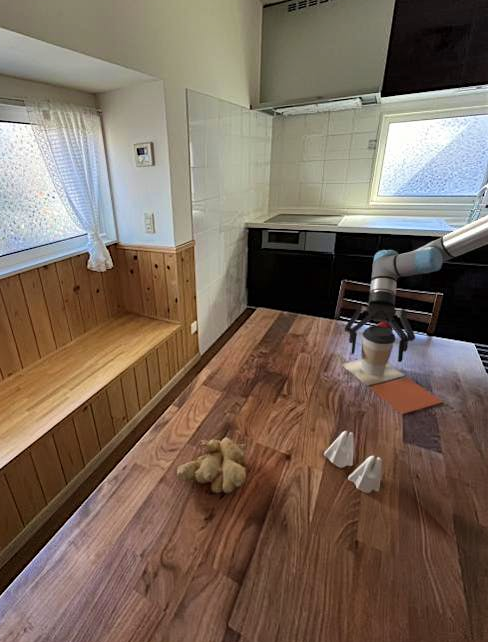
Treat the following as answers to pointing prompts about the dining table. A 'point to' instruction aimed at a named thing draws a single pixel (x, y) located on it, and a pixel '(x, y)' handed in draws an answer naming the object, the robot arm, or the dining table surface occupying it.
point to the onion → (385, 325)
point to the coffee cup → (376, 349)
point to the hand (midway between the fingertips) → (375, 357)
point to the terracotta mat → (406, 395)
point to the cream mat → (370, 379)
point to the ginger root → (217, 466)
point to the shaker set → (342, 456)
